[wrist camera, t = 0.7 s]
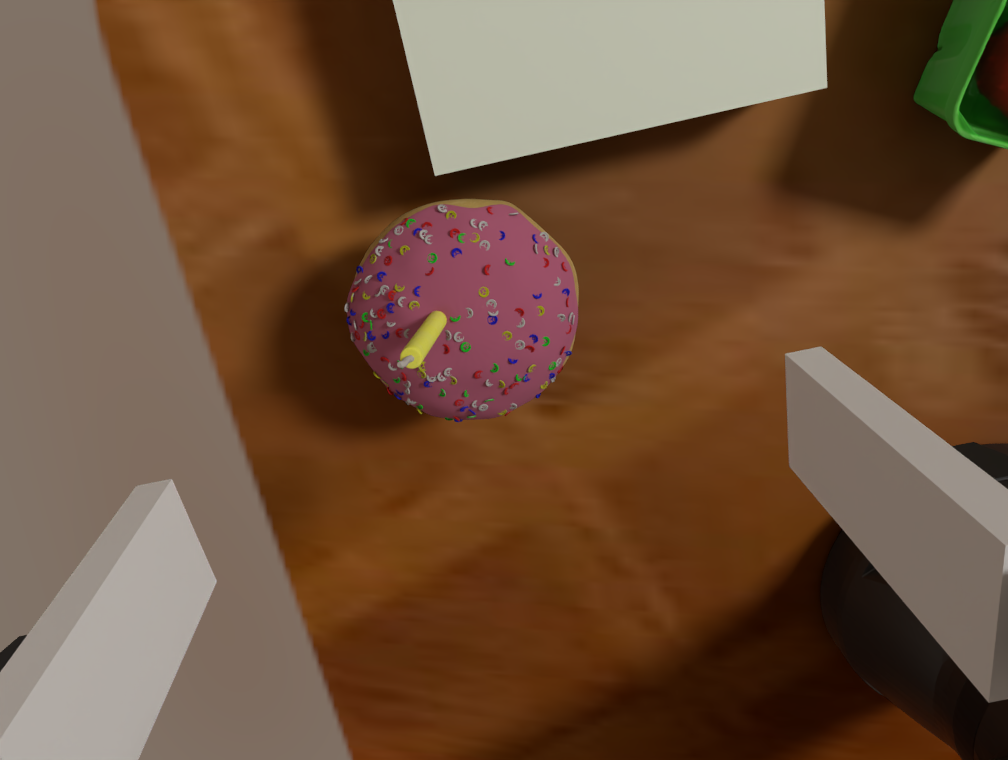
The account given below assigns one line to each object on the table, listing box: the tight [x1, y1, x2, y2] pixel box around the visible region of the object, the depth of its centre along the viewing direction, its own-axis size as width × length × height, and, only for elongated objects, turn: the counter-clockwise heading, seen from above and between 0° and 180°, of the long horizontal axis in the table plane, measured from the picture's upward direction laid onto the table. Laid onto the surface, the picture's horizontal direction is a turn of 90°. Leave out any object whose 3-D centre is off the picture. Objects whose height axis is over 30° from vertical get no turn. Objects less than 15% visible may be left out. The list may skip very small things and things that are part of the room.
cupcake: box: [344, 199, 579, 422], centre depth 26 cm, size 9×8×12 cm
